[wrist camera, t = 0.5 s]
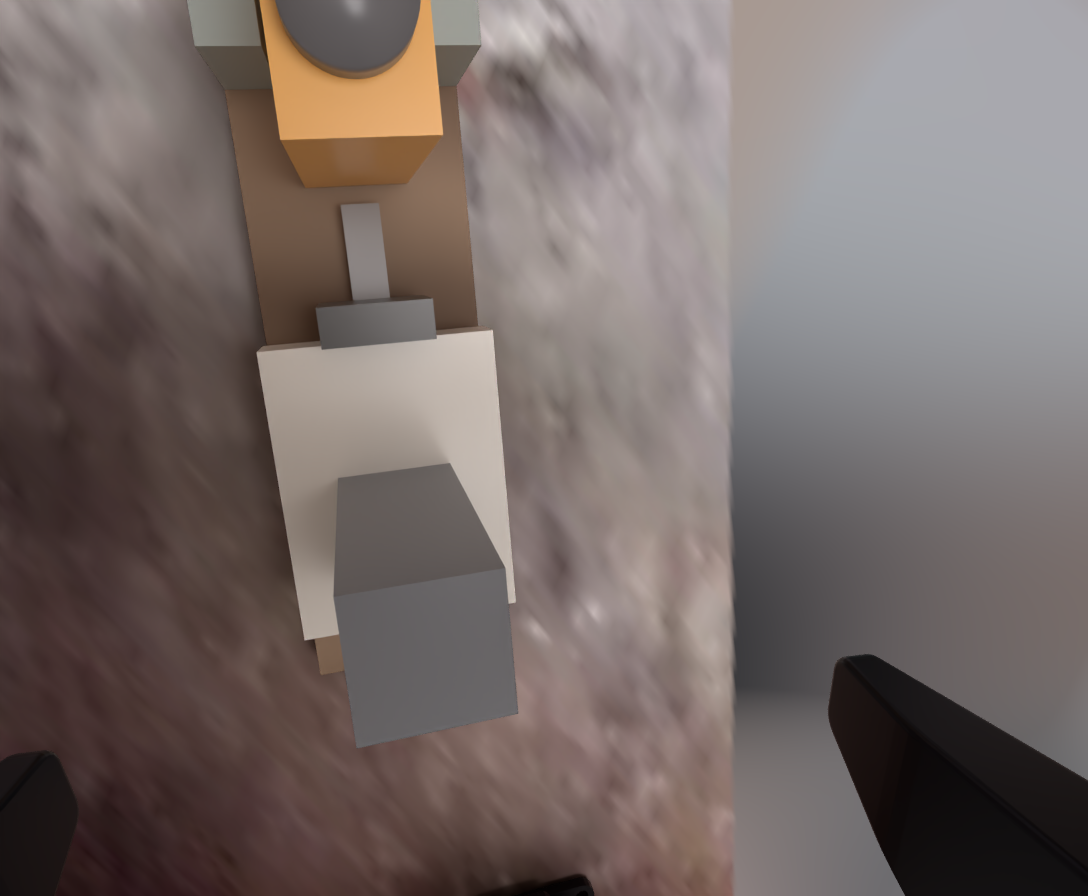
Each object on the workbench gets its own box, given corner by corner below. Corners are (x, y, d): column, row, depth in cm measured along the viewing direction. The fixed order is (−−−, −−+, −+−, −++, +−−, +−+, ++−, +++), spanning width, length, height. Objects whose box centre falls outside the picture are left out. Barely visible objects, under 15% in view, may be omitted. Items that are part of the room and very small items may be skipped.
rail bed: (497, 619, 26) (510, 649, 24) (322, 651, 25) (319, 687, 23) (435, -57, 21) (444, -94, 19) (206, -64, 19) (189, -103, 17)
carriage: (505, 582, 23) (597, 763, 15) (307, 616, 22) (283, 837, 13) (480, 290, 21) (571, 306, 12) (256, 308, 20) (188, 340, 11)
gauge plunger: (407, 183, 20) (449, 126, 12) (305, 188, 20) (276, 131, 11) (389, 21, 19) (422, -162, 11) (281, 21, 19) (229, -173, 10)
